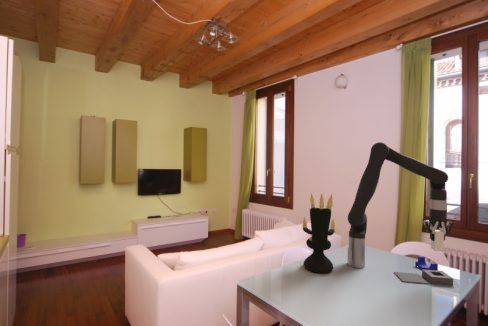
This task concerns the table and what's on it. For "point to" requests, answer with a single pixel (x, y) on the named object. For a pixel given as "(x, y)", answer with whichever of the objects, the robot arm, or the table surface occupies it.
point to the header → (437, 277)
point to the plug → (438, 241)
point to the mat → (410, 277)
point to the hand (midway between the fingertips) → (437, 240)
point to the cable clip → (423, 265)
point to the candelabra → (319, 236)
